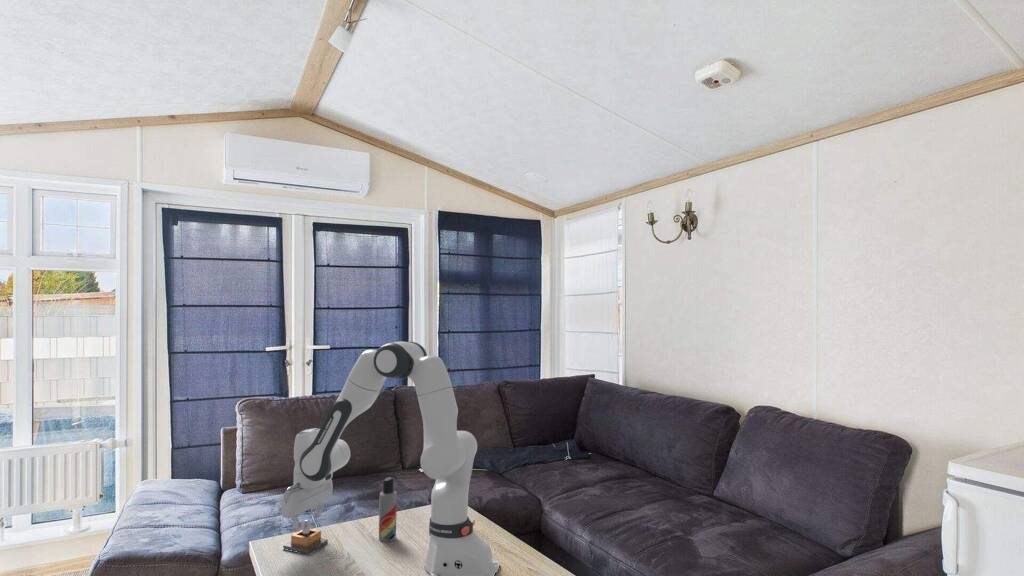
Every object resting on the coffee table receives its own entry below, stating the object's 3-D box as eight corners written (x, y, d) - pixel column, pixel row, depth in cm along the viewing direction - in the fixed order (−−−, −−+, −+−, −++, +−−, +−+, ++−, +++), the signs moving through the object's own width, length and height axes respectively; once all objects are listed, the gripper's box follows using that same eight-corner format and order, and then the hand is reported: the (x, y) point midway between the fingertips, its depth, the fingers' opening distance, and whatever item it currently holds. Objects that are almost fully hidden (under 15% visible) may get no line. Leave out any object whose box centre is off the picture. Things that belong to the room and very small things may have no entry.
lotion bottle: (391, 542, 180) (393, 481, 180) (375, 541, 181) (377, 480, 182) (398, 535, 185) (399, 476, 186) (383, 534, 186) (384, 475, 187)
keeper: (327, 543, 179) (328, 517, 179) (308, 554, 170) (309, 527, 170) (303, 538, 182) (303, 513, 182) (283, 549, 174) (283, 522, 174)
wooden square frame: (320, 540, 178) (321, 530, 178) (307, 548, 172) (307, 538, 172) (305, 537, 180) (305, 528, 180) (291, 544, 174) (291, 535, 174)
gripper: (292, 490, 166) (292, 536, 165) (336, 471, 185) (335, 512, 185) (276, 487, 168) (275, 533, 168) (320, 469, 187) (320, 510, 187)
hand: (307, 522), depth 176 cm, fingers open, 8 cm apart
